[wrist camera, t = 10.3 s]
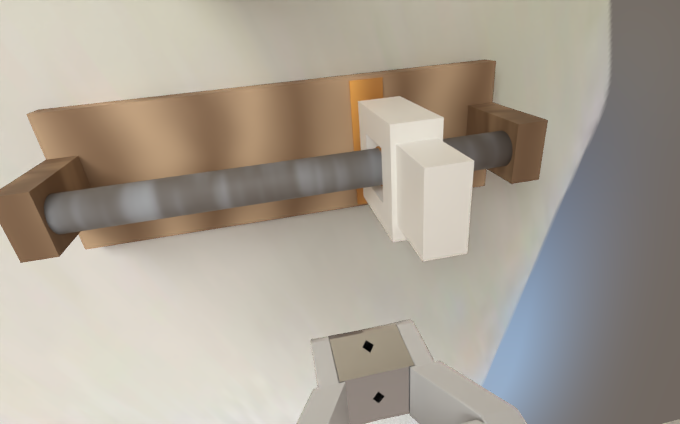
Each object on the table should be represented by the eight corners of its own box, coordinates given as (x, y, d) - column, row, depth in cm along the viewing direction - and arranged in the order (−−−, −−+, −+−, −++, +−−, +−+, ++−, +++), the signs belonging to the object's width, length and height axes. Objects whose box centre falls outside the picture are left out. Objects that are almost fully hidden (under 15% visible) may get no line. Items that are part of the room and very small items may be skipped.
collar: (363, 196, 30) (417, 280, 20) (357, 101, 27) (418, 145, 17) (400, 190, 30) (471, 270, 21) (399, 96, 27) (482, 136, 17)
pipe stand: (92, 239, 30) (43, 304, 23) (38, 109, 26) (-44, 141, 19) (475, 179, 35) (532, 218, 28) (485, 59, 30) (555, 69, 23)
